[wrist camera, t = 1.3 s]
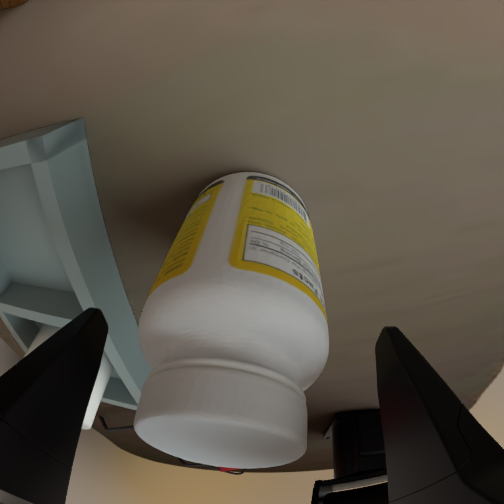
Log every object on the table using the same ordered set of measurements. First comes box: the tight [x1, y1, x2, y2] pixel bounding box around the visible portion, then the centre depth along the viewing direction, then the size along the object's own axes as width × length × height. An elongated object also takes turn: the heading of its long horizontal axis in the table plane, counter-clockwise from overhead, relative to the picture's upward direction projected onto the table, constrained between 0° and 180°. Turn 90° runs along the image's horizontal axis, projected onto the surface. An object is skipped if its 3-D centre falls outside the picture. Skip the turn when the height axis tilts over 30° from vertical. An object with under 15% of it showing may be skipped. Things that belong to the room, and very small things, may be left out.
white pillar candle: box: [24, 324, 114, 429], centre depth 17 cm, size 6×6×6 cm
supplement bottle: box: [134, 172, 329, 468], centre depth 10 cm, size 5×5×10 cm
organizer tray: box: [0, 118, 153, 410], centre depth 16 cm, size 21×11×3 cm, turn 0°
